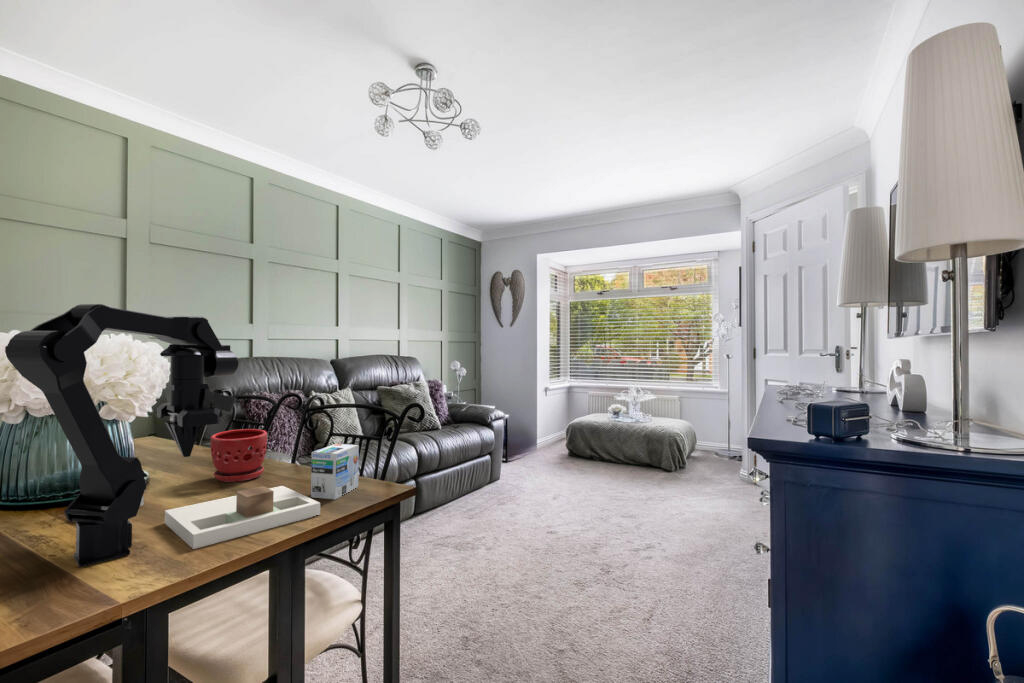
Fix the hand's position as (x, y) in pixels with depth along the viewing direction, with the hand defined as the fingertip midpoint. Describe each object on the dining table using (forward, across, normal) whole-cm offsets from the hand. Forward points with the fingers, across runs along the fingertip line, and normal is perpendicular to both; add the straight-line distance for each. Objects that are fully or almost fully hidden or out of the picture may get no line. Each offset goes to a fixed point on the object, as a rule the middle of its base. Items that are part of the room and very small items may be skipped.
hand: (186, 456), depth 96 cm
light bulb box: (+13, -4, -30) cm, 33 cm away
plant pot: (+13, +26, -19) cm, 35 cm away
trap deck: (+13, -7, -8) cm, 17 cm away
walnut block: (+10, -12, -9) cm, 18 cm away
